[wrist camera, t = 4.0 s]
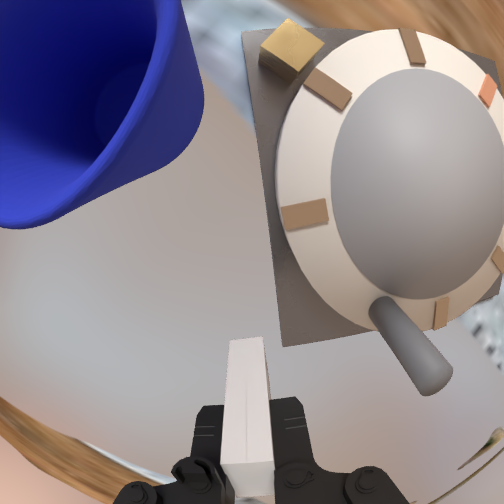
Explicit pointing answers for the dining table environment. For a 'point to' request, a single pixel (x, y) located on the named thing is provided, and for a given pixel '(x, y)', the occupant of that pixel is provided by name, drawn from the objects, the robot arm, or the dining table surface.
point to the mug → (90, 100)
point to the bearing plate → (267, 131)
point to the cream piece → (396, 188)
